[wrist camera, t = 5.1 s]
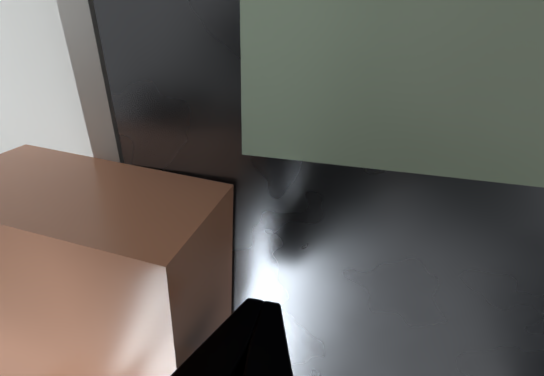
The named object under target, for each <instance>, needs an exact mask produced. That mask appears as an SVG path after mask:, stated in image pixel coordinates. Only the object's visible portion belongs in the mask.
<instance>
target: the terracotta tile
mask: <svg viewBox="0 0 544 376" xmlns="http://www.w3.org/2000/svg"><path fill="white" fill-rule="evenodd" d="M232 244H233V184H227V183H222V182H217V181H212V180H207V179H202V178H197V177H192V176H186V175H181V174H176V173H171V172H166V171H161V170H156V169H150V168H145V167H140V166H135V165H130V164H124V163H120V162H115V161H109V160H104V159H99V158H94V157H89V156H84V155H79V154H73V153H68V152H63V151H58V150H53V149H48V148H43V147H37V146H32V145H27V144H25V145H23V146H20V147H17V148H15V149H12V150H9V151H7V152H4V153H1V154H0V376H170V375H171V374H172V373H173V372H174V371H175V370H176V369H177V368H178V367H179V366H180V365H181V364H182V363H183V362H184V361H185V360H186V359H187V358H188V357H189V356H190V355H191V354H192V353H193V352H194V351H195V350H196V349H197V348H198V347H199V346H200V345H201V344H202V343H203V342H204V341H205V340H206V339H207V338H208V337H209V336H210V335H211V334H212V333H213V332H214V331H215V330H216V329H217V328H218V327H219V326H220V325H221V324H222V323H223V322H224V321H225V320H226V319H227V318H228V317H229V316H230V315H231V304H232Z"/></svg>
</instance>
